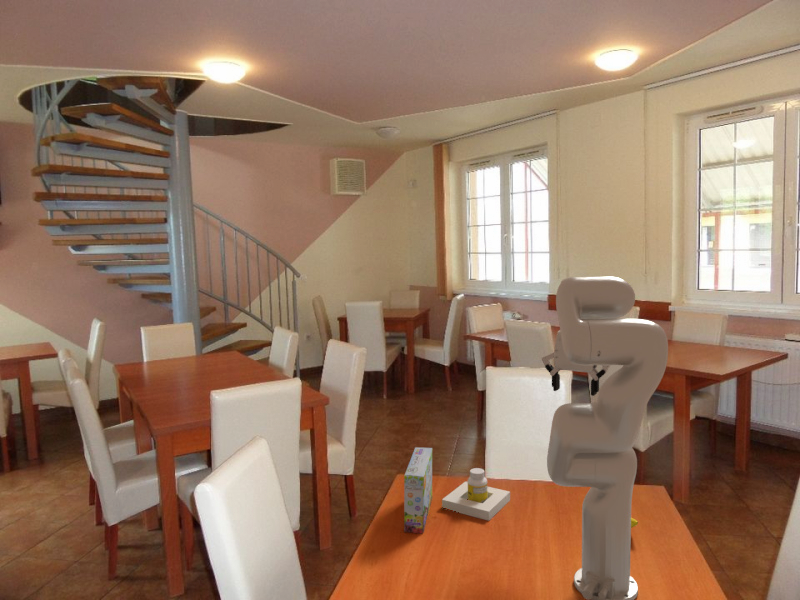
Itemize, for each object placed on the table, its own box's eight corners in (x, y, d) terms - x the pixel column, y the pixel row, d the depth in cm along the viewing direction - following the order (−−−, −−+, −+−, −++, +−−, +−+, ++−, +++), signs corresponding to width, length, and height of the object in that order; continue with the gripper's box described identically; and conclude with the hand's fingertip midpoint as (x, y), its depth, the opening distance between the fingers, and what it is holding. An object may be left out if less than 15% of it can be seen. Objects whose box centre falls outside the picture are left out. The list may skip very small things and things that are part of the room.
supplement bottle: (467, 500, 163) (467, 466, 162) (487, 500, 162) (486, 467, 161) (468, 509, 158) (467, 474, 157) (488, 509, 157) (487, 474, 156)
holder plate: (489, 520, 151) (488, 511, 151) (442, 508, 158) (442, 499, 158) (510, 500, 162) (510, 491, 162) (465, 489, 170) (465, 481, 170)
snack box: (425, 534, 145) (424, 476, 143) (403, 533, 146) (402, 475, 144) (433, 497, 166) (432, 446, 164) (414, 496, 166) (413, 445, 165)
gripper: (614, 326, 146) (613, 393, 147) (547, 322, 155) (547, 385, 157) (606, 330, 140) (605, 400, 141) (537, 326, 149) (537, 391, 151)
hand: (574, 392), depth 149 cm, fingers open, 9 cm apart
